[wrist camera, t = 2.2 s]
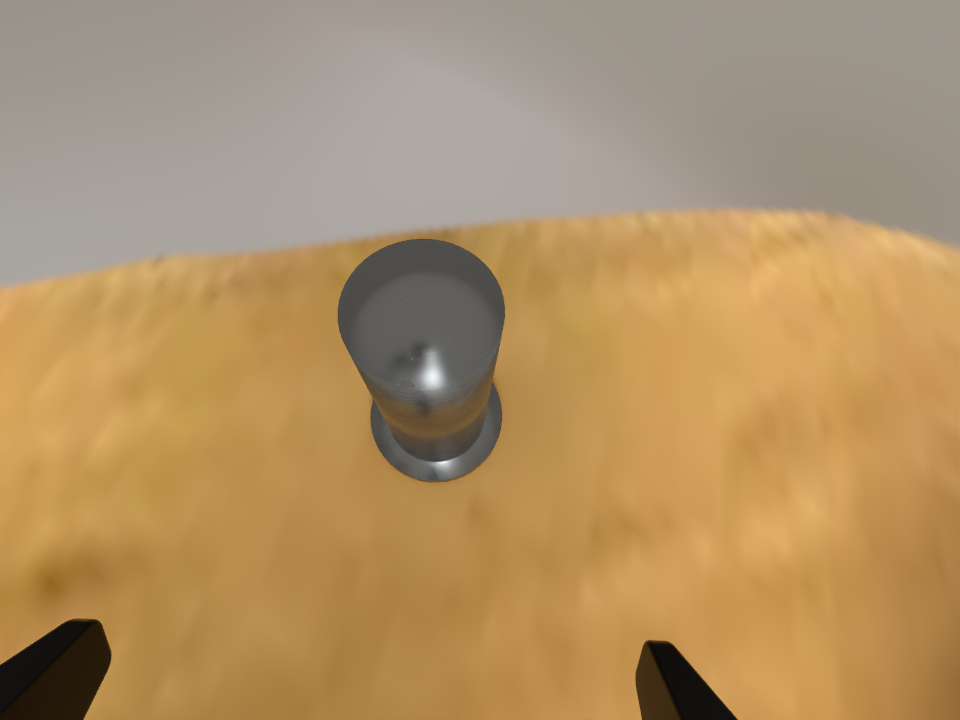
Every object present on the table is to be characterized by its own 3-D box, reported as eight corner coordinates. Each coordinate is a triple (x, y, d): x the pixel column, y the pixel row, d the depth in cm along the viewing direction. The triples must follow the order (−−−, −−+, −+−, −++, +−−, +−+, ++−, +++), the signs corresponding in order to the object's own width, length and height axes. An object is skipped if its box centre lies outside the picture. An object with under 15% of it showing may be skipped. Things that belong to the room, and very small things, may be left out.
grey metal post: (526, 414, 24) (580, 305, 13) (438, 511, 22) (423, 470, 12) (435, 335, 25) (421, 181, 15) (345, 420, 23) (257, 312, 13)
